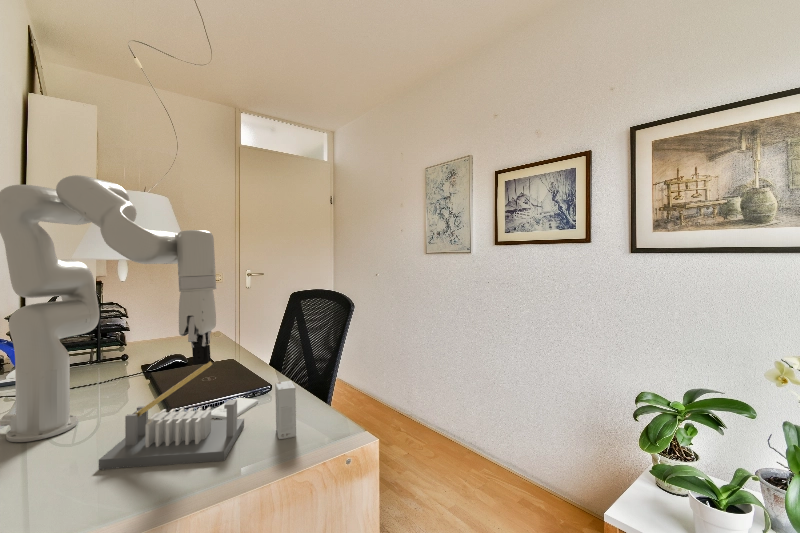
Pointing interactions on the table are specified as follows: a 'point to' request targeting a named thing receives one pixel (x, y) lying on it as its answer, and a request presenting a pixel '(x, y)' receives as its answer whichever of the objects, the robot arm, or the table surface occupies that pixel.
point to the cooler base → (173, 452)
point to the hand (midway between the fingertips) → (201, 363)
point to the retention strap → (172, 390)
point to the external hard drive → (242, 406)
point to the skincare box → (285, 409)
